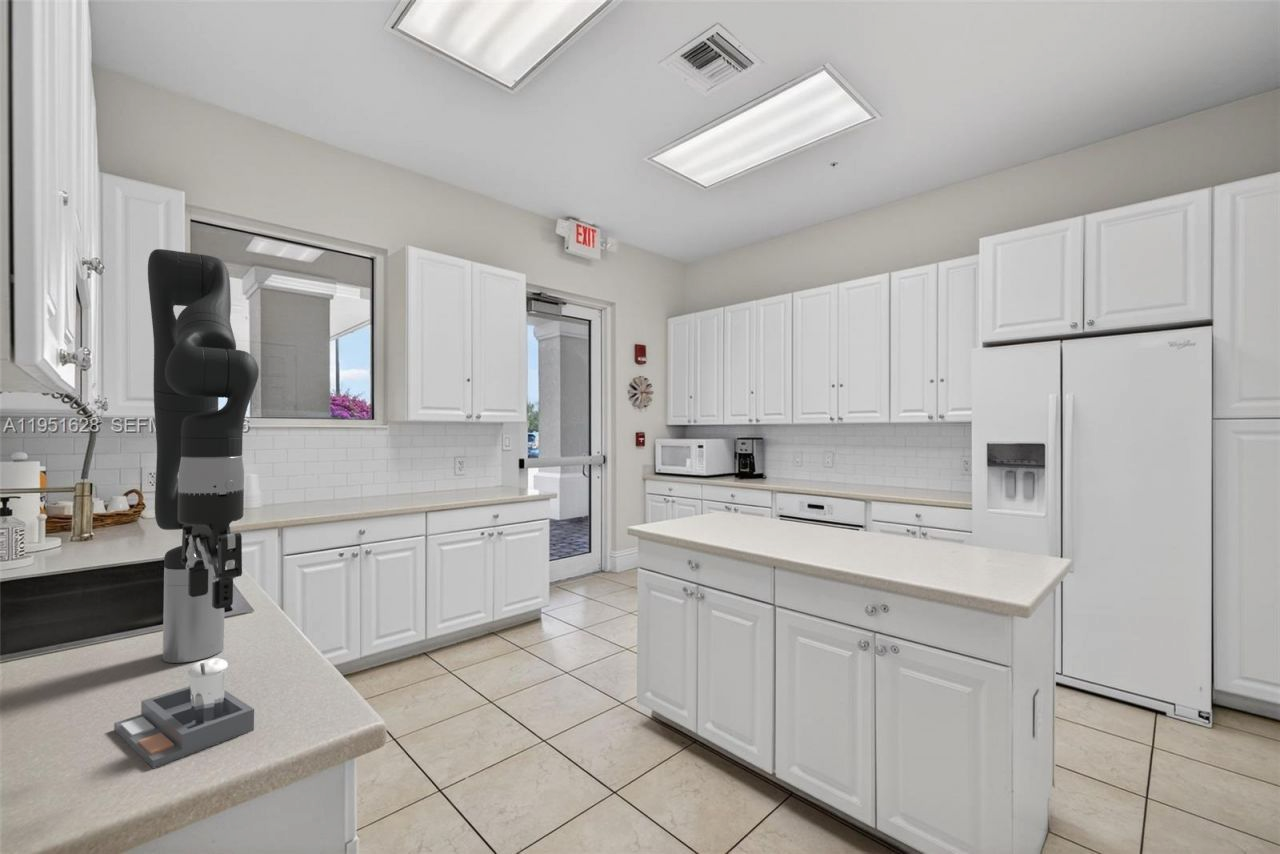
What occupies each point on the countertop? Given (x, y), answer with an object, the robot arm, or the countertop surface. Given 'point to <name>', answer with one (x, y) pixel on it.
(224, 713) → the dock
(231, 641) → the countertop surface
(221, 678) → the milkshake
